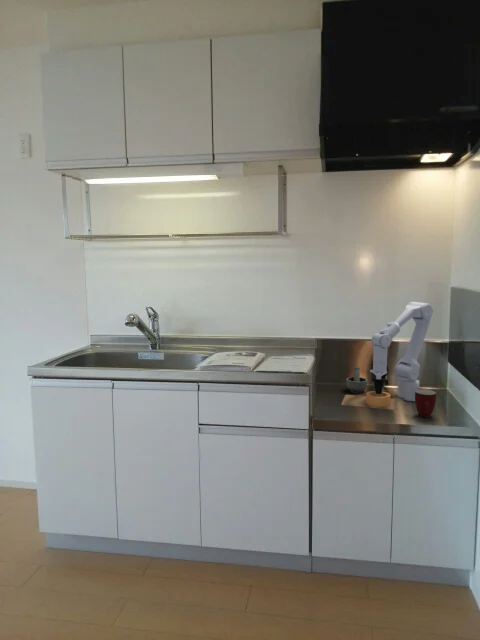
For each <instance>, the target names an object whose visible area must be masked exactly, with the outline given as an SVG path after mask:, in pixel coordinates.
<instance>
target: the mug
mask: <svg viewBox="0 0 480 640" xmlns="http://www.w3.org/2000/svg"><path fill="white" fill-rule="evenodd" d="M436 401H437V392H436V391H435V390H431V389H425V388H424V389H423V388H422V389H420V388H419V390H416V391H415V401H414V402H415V408H416V411H417V413H418V416H420V417H421V418H430V417H431V415H432V414H433V412H434V410H435V406H436Z"/></svg>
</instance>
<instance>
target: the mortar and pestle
mask: <svg viewBox="0 0 480 640" xmlns="http://www.w3.org/2000/svg"><path fill="white" fill-rule="evenodd" d="M353 369H354V371H353V372H354V373H353V374H354V375H353V376H349V377H347V378H346V387H347V389H348V390H349V392H351V393H352V394H362V393H363V392H364V391H365V390H366V388H367V386H368V379H367V378H365V377H361V376H360V370H361V367H360V366H354V367H353Z"/></svg>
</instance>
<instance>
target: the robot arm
mask: <svg viewBox="0 0 480 640" xmlns="http://www.w3.org/2000/svg"><path fill="white" fill-rule="evenodd" d="M433 309H434V308H433V306H432V304H430V303H429V302H428V303H427V302H420V301H410V302H409V303H408V304H406V306H405V309H404V310H403V312H402V313H401V314H400V315H399V316H398V317H397V318H396V319H395V320H394V321H390V322H388V323H387V324H386V325H385V326H384V328H382V329H381V330H380V331H379V332H376V333H374V334H373V335H372V336H371V339H370V344H371V345H372V349H373V357H372V362H373V363H372V364H373V365H372V369H370V371H369V372H370V373H373V375H374V376H373V377H371V380H372V382H373V385H374V391H376V394H381V392H382V391H383V388H384V384H385V382H386V380H387V378H386V377H387V374H388V370H387V368H388V347H390V345H391V343H392V341H393V338H395V337H396V336H397V335H398V334H399V333H400V332H401V327H403V326H404V325H405V324H406V323H407V322H409V321H410V320H411V319H412V320H413V321H414V323H415V326H414V329H413V332H412V335H411V338H410V341H409V343H408V346H407V348H406V351H405V355H404V356H403V357H401V358H399V360H398V362H397V363H396V365H395V367H394V371H393V372H394V375H395V376H396V378H397V397H399V398H402V399H403V401H407V402H415V391H416V390H419V389H420V380H419V379H418V377H420V367H421V365H420V363H419V362H418V358H419V355H420V353H421V350H422V347H423V345H424V341H425V339H426V335H427V332H428V330H429V327H430V323H431V319H432V316H433V313H434V310H433Z"/></svg>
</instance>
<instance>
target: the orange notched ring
mask: <svg viewBox="0 0 480 640" xmlns="http://www.w3.org/2000/svg"><path fill="white" fill-rule="evenodd" d="M376 395H381V397H377V396H376ZM365 396H366V403H367V404H368V405H371V406H375V407H387V406H389V405H390V400H391V398H392V397H391V393H389V392H386V391H383V390H382V392H381V394H376V391H375V390H372V391H367V392H366V394H365Z"/></svg>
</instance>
